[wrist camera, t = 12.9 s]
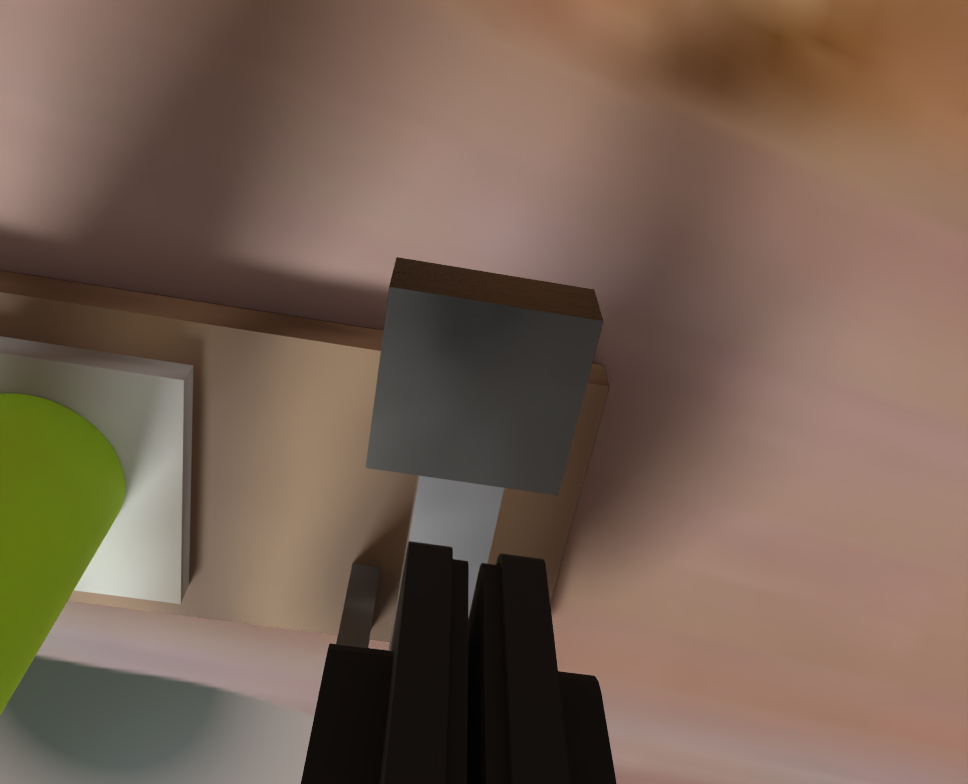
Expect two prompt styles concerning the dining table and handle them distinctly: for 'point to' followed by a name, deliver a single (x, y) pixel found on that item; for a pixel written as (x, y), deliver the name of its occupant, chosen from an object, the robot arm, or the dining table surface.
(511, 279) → the lever
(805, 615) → the dining table surface
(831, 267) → the dining table surface
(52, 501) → the soap dispenser
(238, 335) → the base
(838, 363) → the dining table surface
